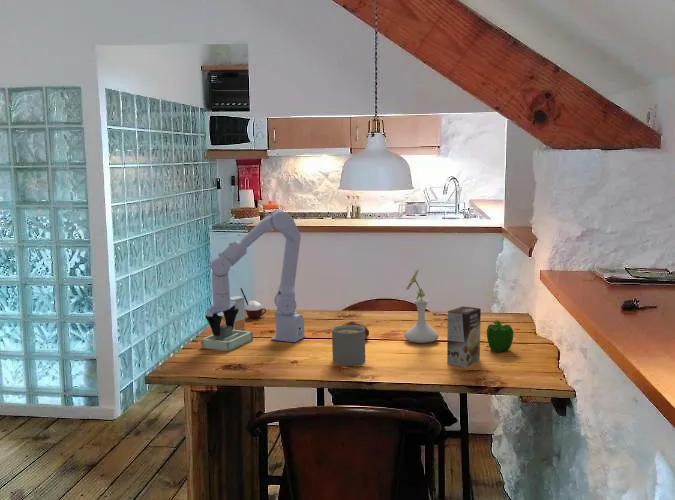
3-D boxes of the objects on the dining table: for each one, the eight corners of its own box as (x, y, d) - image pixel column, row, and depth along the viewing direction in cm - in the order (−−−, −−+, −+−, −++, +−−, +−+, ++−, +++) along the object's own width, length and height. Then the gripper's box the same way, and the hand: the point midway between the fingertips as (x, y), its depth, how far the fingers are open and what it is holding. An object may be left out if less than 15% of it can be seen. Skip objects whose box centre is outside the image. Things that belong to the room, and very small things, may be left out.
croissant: (354, 340, 236) (344, 320, 236) (379, 328, 233) (368, 308, 233) (337, 356, 216) (326, 334, 216) (363, 344, 213) (352, 322, 213)
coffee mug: (363, 366, 196) (363, 333, 194) (330, 365, 197) (329, 333, 195) (367, 352, 209) (366, 322, 207) (336, 352, 210) (335, 321, 209)
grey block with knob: (232, 340, 223) (231, 324, 222) (225, 343, 220) (225, 326, 219) (222, 339, 225) (222, 323, 224) (215, 342, 221) (215, 325, 221)
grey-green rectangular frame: (252, 340, 226) (252, 331, 225) (229, 351, 213) (228, 342, 213) (226, 337, 231) (225, 328, 230) (201, 348, 218) (201, 339, 218)
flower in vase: (413, 334, 228) (412, 263, 225) (443, 338, 222) (444, 265, 219) (396, 344, 217) (395, 269, 214) (428, 348, 211) (428, 272, 208)
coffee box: (465, 368, 192) (466, 314, 190) (446, 364, 196) (446, 311, 194) (480, 360, 199) (481, 308, 197) (461, 356, 203) (462, 305, 201)
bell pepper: (502, 345, 214) (502, 315, 212) (518, 351, 206) (518, 320, 205) (480, 348, 211) (480, 317, 209) (495, 355, 203) (495, 323, 202)
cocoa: (266, 316, 260) (267, 286, 259) (263, 320, 254) (263, 289, 253) (242, 315, 261) (243, 285, 260) (238, 319, 255) (239, 288, 254)
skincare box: (233, 332, 236) (232, 299, 235) (225, 330, 239) (224, 298, 237) (246, 328, 241) (244, 296, 239) (237, 327, 244) (236, 295, 242)
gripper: (224, 288, 228) (226, 326, 230) (198, 296, 215) (200, 336, 217) (241, 289, 225) (243, 328, 227) (215, 298, 212) (217, 339, 214)
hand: (223, 332), depth 222 cm, fingers open, 7 cm apart
